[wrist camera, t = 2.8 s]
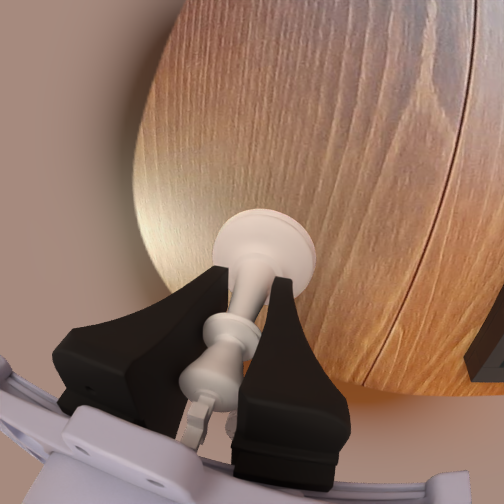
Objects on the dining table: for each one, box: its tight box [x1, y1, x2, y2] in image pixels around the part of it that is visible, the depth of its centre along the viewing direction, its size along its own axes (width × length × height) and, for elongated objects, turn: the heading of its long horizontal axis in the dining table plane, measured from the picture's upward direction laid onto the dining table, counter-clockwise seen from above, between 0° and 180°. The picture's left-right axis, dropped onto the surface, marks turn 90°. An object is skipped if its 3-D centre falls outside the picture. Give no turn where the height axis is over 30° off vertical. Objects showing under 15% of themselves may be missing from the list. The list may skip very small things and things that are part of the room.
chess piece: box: [179, 209, 316, 453], centre depth 11 cm, size 5×5×10 cm
